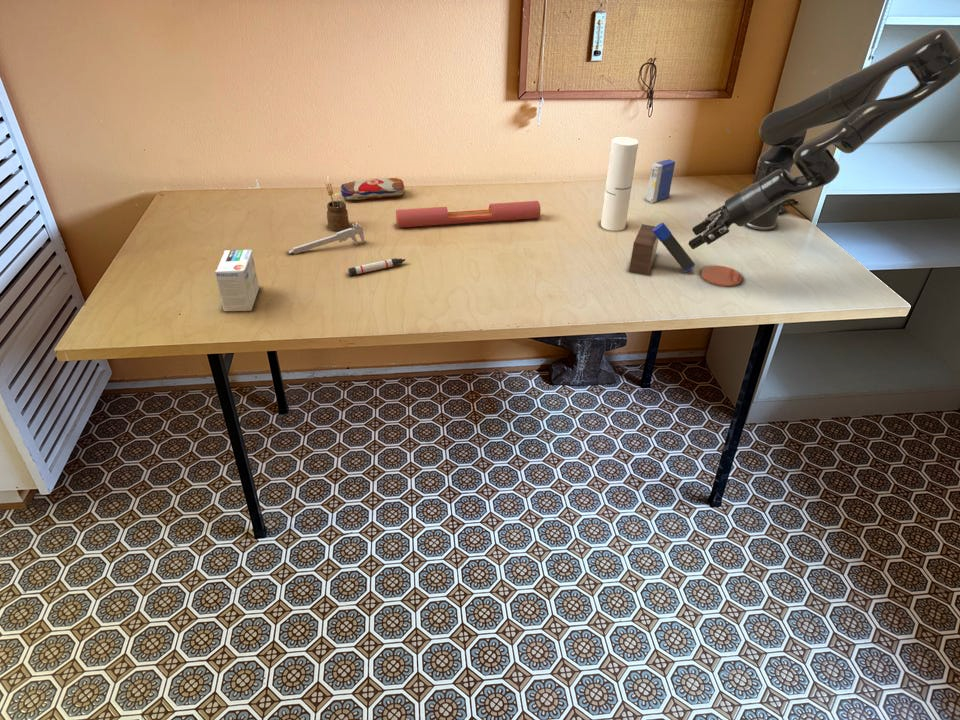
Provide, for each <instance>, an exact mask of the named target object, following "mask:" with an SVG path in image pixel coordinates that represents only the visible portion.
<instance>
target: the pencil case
mask: <svg viewBox="0 0 960 720" xmlns="http://www.w3.org/2000/svg"><path fill="white" fill-rule="evenodd" d="M405 189H406V188H405V183H404V181H403V180H402V179H401V178H398V177H383V178H382V177H381V178H367V179H360V180H355V181H350V182H346V183H342V184H341V185H340V189H339V192H340V194H341V197H343V199H345V200H348V201H355V200H356V201H357V200H359V201H360V200H367V199H378V198H389V197H400V196H403V195H404V194H405Z"/></svg>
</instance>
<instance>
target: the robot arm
mask: <svg viewBox="0 0 960 720" xmlns="http://www.w3.org/2000/svg"><path fill="white" fill-rule="evenodd" d="M903 67H907V68H908V69H909V71H910V72H911V74H912V75H913V77H914V78H915V80H916V81H917V83H918V84H916V85H915V86H914V87H912V89H910V90H908V91H906V92H904V93H902V94H898V95H894V96H890V97H886V98H879V97H880V95H881V93H882V92H883V90H884V88H885V87H886V84H888V81H889V80H890V78H892V76H893V75H894V74H895V72H897V71H898V70H899V69H901V68H903ZM959 75H960V47H959V45H958V43H957V42H956V40H955V39H954V37H953V36H952V34H951V33H950V31H948V29H946V28H938V29H934V30H931V31H929V32H927V33H925V34H923V35H921V36H919V37H918V38H916V39H914V40H912V41H910V42H909V43H908V44H906V45H904V46H902V47H901V48H899V49H897V50H896V51H894V52H892V53H890V54H888V55H887V56H885V57H883V58H882V59H880V60H877V61H876V62H874V63H872V64H870V65H868V66H866V67H864V68H862V69H860V70H857V71H855V72H853V73H851V74H849V75H847V76H844V77H843V78H840V79H838V80H837V81H834V82H832V83H831V84H829V85H827V86H826V87H823V88H822V89H820V90H818V91H816V92H815V93H813V94H811V95H809V96H808V97H806V98H804V99H803V100H801V101H799V102H797V103H794V104H792V105H789V106H786V107H784V108H781V109H779V110H774V111H772V112H770V113H769V114H767V115H766V116H765V117H763V119H762V121H761V123H760V125H759V130H758V135H759V138H760V139H761V140H762V142H763V143H764V144H766V145H768V146H770V147H769V148H768V149H767V150H765V151H764V152H763V153H762V154H761V155H759V157H758V160H757V165H756V168H755V172H754V175H753V180H752V183H751V184H750V185H747V186H746V187H745V188H743V189H741V190H740V191H738V192H737V193H735V194H733V195H732V196H731V197H729V198H727V199H726V200H725V201H724V204H723V205H721V206H720V207H718V208H716V209H714V210H713V211H711V212H710V213H708V214H706V215H707V217H705V218H704V220H702V221H701V222H700V223H698V224H696V225H695V226H693V227H692V229H691V231H692V232H693V234H694V235H695V237H694V238H692V239H691V240H689V241H688V246H689V247H690V248H691V249H692V250H695V249H697V248H699V247H700V246H702V245H704V244H705V243H706V244H707V245H710V244H712V243H713V242H715V241H717V240H718V239H721V238H722V237H723V236H725V235H727V234H729V232H730V227H731V226H732V225H733V224H735V225H736V226H738V227H739V228H740V227H741V228H742V227H744V226H745V227H748V228H750V229H754V230H756V231H757V230H758V231H770V230H774V229H775V228H776V226H777V221H778V217H779V216H781V215H783V214H785V213H786V212H787V208H786V207H785V206H784V205H785V204H786V203H794V204H796V205H797V204H799V201H798V200H797V201H795V199H796V198H791V197H793V196H795V195H796V196H797V195H799V194H802V193H804V192H808V191H811V190H814V189H818V188H821V187H824V186H826V185H828V184H830V183H831V182H833V181H834V180H835V179H836V178H837V176H838V175H839V173H840V164H839V163H838V161H837V160H836V158H835V156H833V153H832V152H831V151H830V149H829V147H830V146H831V145H833V146H834V147H835V148H837V149H838V150H839V151H840V152H842V153H844V154H851V153H854V152H856V150H858V149H859V148H860V147H861V146H863V145H864V144H865V143H866V142H868V141H869V140H870V139H871V138H872V137H873V136H875V135H876V134H877V133H878V132H880V130H882V129H883V128H884V127H886V126H887V125H889V124H890V123H891V122H893V121H894V120H895V119H897V118H899V117H900V116H901V115H903V114H905V113H906V112H908V111H909V110H912V108H914V107H916V106H917V105H919V104H920V103H921V102H923V101H924V100H927V98H929V97H930V96H932V95H933V94H935V93H937V92H938V91H940V90H941V89H942V88H944V87H945V86H947V85H948V84H949V83H951V82H952V81H953V80H954V79H956V77H958V76H959ZM878 98H879V99H878ZM838 121H840V122H838ZM835 122H838V123H837V124H836V125H834V126H833V127H832V128H831V129H829V130H827V131H826V132H824V133H821V134H820V135H818V136H816V137H814V138H812V139H810V140H808V141H805V139H806V137H807V132H808V130H809V129H814V128H817V127H821V126H824V125H825V126H826V125H830V124H833V123H835ZM794 165H795V166H796V168H797V169H798V170H799V172H800V173H801V174H802V175H800V176H794V175H793V174H791V172H792V169H793V166H794Z"/></svg>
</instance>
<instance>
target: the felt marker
mask: <svg viewBox="0 0 960 720" xmlns="http://www.w3.org/2000/svg"><path fill="white" fill-rule="evenodd" d="M655 226H656V227H655V228H654V229H653V230H652V231H653V232H654V234H655V235H656V236H657V238H658V239H659V240H658V241H659V242H661V243H662V245H663V246H664V247H665V249H666V251H668V253H669V254H670V255H671V256H672V258H673V259H674V260H675V261H676V263H677V264H678V265H679V266H680V268H681V269H682V270H683V272H684V273H688V272H690V271H691V270H692V269H693V268H694V267H695V266H696V263H695V262H694V261H693V259H692V258H691V257H690V256H689V254H688V253H687V252H686V250H685V249H684V248H683V246H682V245H681V244H680V242H679V241H678V240H677V239H676V237H675V236H674V235H673V233H672V232H671V230H670V229H669V228H668V226H667V225H666V224H665V223H664V222H660V223H658V224H657V225H655Z"/></svg>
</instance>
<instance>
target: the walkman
mask: <svg viewBox="0 0 960 720" xmlns="http://www.w3.org/2000/svg"><path fill="white" fill-rule="evenodd" d="M675 166H676V161H675V160H673V159H670V158H665V159H664V160H661V161H658V162H657V161H656V162H654V163H652V164H651V169H650V175H649V179H648V180H649V181H648V186H647V187H648V188H647V193H646V198H645V200H646V201H647V202H649V203H651V204H653V203H657V202H659V201H662V200H664V199H668V198H670V191H671V186H672V181H673V176H674V170H675Z"/></svg>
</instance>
